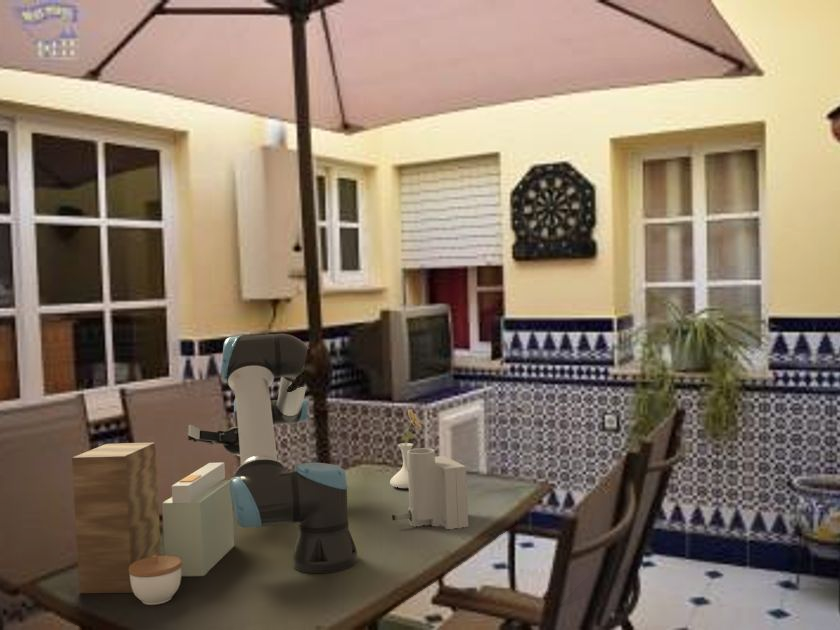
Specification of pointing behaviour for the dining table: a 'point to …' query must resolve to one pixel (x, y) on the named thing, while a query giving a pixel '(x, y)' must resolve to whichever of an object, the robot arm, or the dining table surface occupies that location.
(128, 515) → the walnut stand
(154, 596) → the lidded jar
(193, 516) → the upright ivory cuboid
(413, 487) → the white tube and box
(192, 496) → the white bar
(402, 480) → the flower in vase
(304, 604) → the dining table surface
